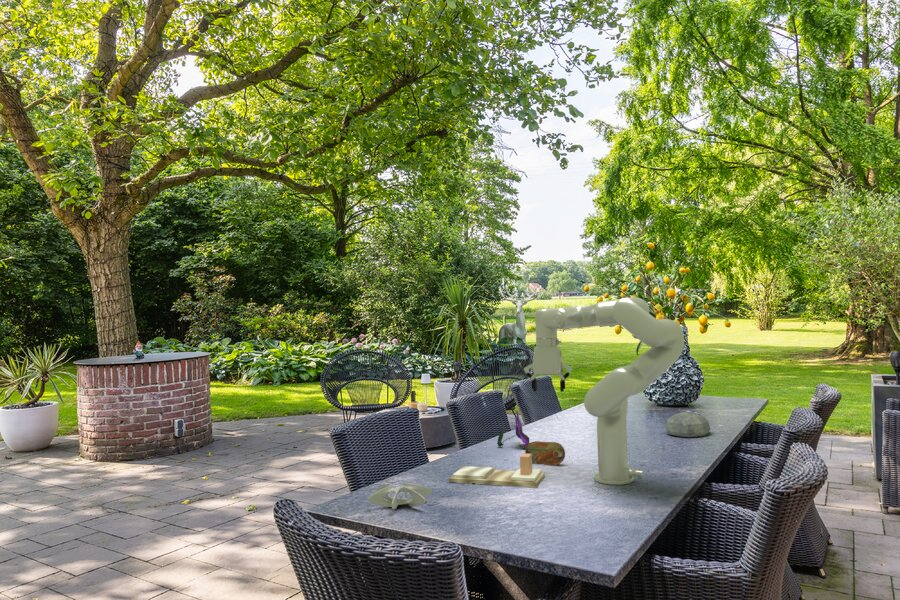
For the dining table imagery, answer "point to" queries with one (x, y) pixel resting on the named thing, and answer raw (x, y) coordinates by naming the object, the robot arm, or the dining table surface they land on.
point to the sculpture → (407, 487)
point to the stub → (526, 469)
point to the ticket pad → (491, 477)
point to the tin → (546, 452)
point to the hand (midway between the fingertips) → (548, 391)
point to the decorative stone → (687, 425)
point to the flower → (518, 432)
